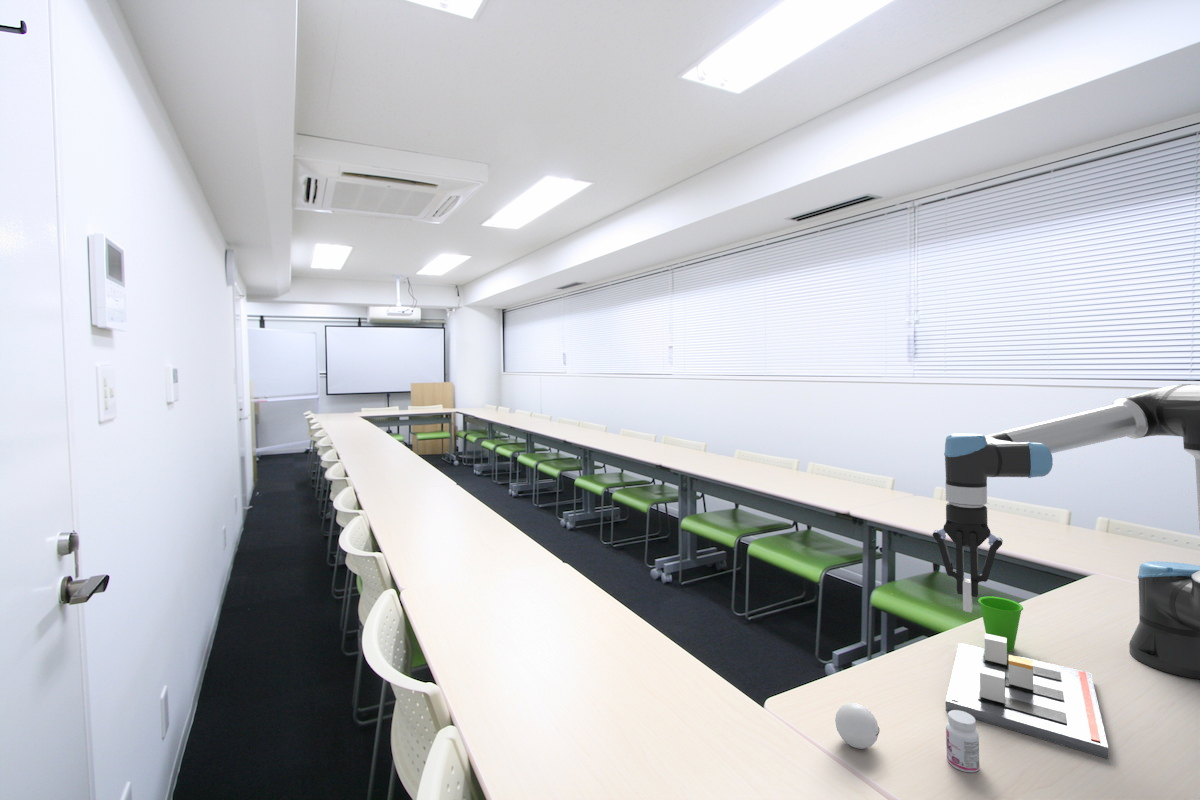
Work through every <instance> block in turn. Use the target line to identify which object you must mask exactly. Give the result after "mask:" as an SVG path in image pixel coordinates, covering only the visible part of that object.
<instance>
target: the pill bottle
mask: <svg viewBox="0 0 1200 800" xmlns="http://www.w3.org/2000/svg"><path fill="white" fill-rule="evenodd" d="M945 733H946V734H945V741H946V742H945V744H946V747H945V749H946V760H947V762H948V763H949V765H951V766H952V767H953V768H955V769H957V770H959V771H962V772H964V773H976V772H978V771H979V770H980V736H979V732H978V729H977V720H976V719H975V718H974V717H973V716H972V715H970V714H968V713H966V712H964V711H960V710H951V711H948V713H947V723H946V724H945Z"/></svg>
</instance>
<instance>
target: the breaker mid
mask: <svg viewBox="0 0 1200 800" xmlns="http://www.w3.org/2000/svg"><path fill="white" fill-rule="evenodd" d="M1012 655H1013V654H1011V655H1009V660H1008V662H1009V684H1011V685H1015V686H1019V687H1023V688H1027V689H1031V690H1033V660H1034V659H1033V660H1030V659H1031V658H1028V659H1026V658H1027V657H1024V658H1021V657H1022V656H1020V657H1017V656H1018V655H1015V656H1012Z"/></svg>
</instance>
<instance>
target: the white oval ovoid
mask: <svg viewBox="0 0 1200 800" xmlns="http://www.w3.org/2000/svg"><path fill="white" fill-rule="evenodd" d="M834 718H835V719H834V720H835V728H836V731H837V732H838V734H839V737H840V738H841V739H842V740H843V741H844V742H845V743H846V744H848V746H851V747H852V748H855V749H863V750H864V749H868V748H870V747H872V746H873V745H874V744H875V743H876V742H877V740H878V738H879V734H880V732H881V731H880V728H879V724H878V721H877V719H876V717H875V715H874V713H872V711H871V710H869V708H867V707H866V706H865V705H863V704H860V703H857V702H847V703H845V704H843V705H841V706H840V707H839V708H838V709H837V711H836V713H835V717H834Z"/></svg>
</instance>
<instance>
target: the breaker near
mask: <svg viewBox="0 0 1200 800" xmlns="http://www.w3.org/2000/svg"><path fill="white" fill-rule="evenodd" d="M980 697H983V698H986V699H990V700H994V701H997V702H1001V703H1005V672H1002V671H998V670H994V669H990V668H986V667H982V666H981V667H980Z"/></svg>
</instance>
